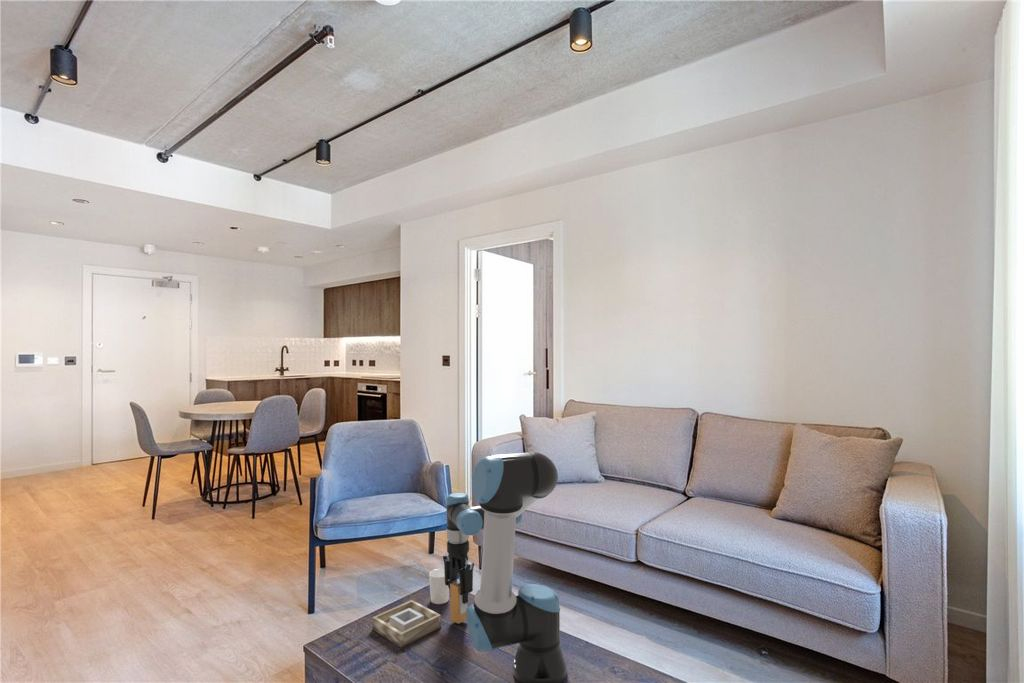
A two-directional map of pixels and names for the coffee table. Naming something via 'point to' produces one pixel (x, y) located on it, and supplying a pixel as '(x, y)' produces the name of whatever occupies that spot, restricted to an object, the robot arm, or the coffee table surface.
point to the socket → (404, 615)
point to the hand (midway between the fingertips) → (458, 610)
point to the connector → (456, 602)
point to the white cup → (438, 586)
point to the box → (403, 638)
